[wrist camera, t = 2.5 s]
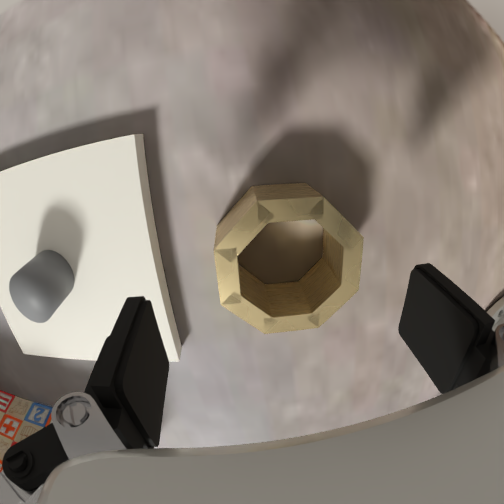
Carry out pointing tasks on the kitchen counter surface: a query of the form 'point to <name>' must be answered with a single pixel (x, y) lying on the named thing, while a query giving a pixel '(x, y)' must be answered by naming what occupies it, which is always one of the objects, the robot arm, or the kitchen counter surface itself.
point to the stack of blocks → (20, 420)
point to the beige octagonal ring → (289, 293)
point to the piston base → (80, 249)
